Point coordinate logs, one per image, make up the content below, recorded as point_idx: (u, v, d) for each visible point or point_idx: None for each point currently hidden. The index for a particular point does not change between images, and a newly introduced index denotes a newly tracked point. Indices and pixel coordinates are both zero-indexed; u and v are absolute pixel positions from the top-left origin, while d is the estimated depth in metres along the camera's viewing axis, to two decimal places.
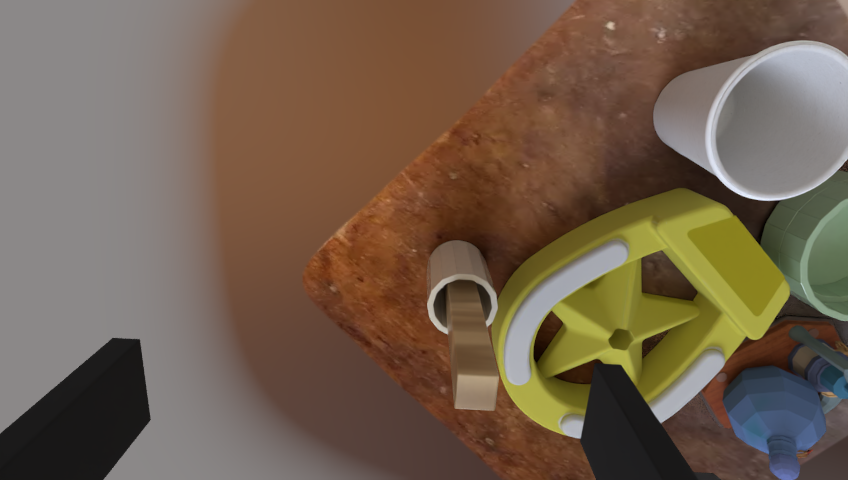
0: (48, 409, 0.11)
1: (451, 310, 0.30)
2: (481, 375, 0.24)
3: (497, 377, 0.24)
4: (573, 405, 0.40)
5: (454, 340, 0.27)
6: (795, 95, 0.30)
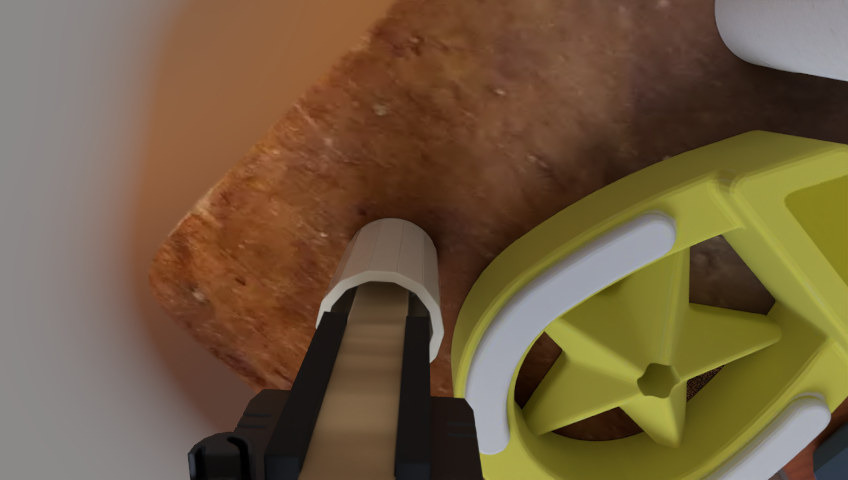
0: (317, 364, 0.13)
1: None
2: None
3: None
4: None
5: (317, 418, 0.12)
6: None
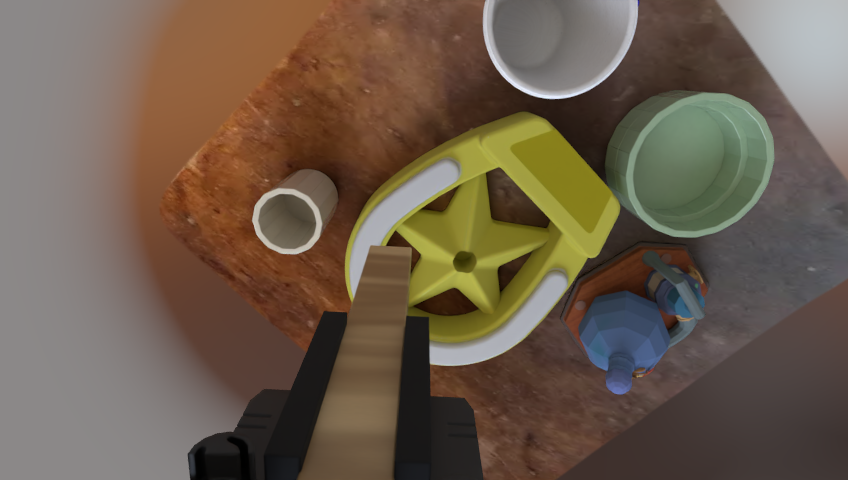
0: (317, 364, 0.13)
1: None
2: None
3: None
4: None
5: None
6: (593, 0, 0.30)
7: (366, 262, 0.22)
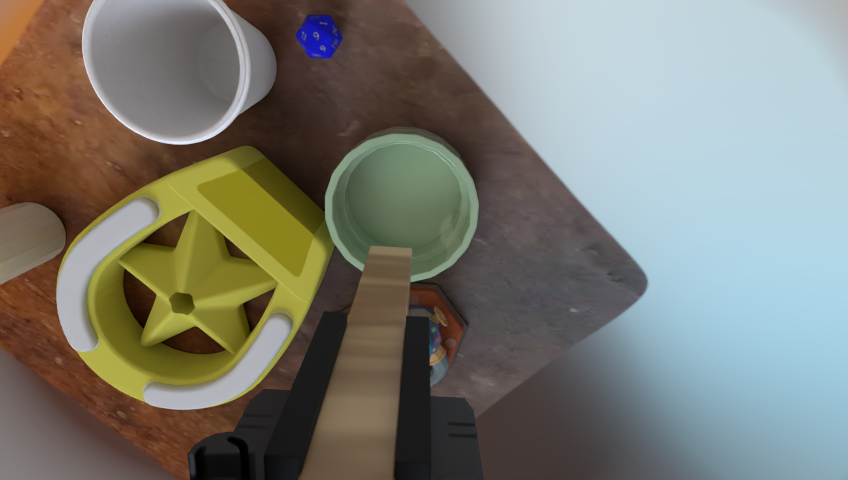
0: (317, 364, 0.13)
1: None
2: None
3: None
4: (157, 374, 0.39)
5: (317, 420, 0.12)
6: None
7: (366, 263, 0.22)
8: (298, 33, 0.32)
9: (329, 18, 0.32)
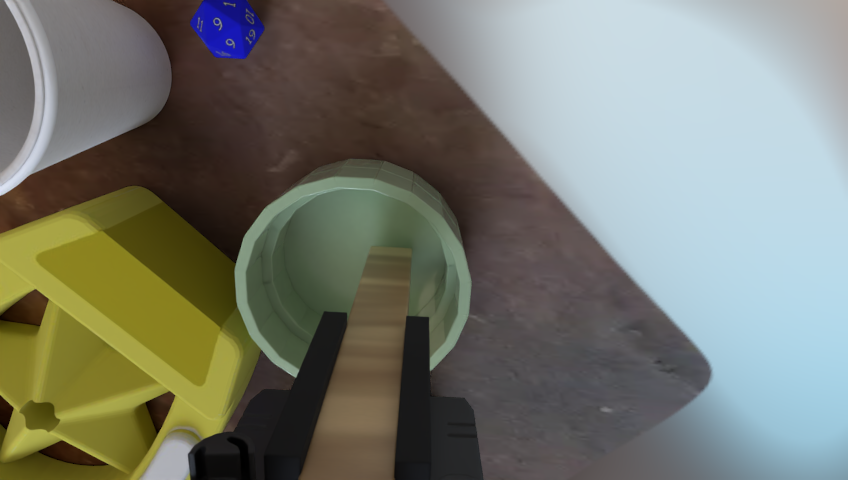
0: (317, 364, 0.13)
1: (340, 345, 0.15)
2: None
3: None
4: None
5: (317, 421, 0.12)
6: None
7: (367, 263, 0.22)
8: (193, 20, 0.21)
9: None
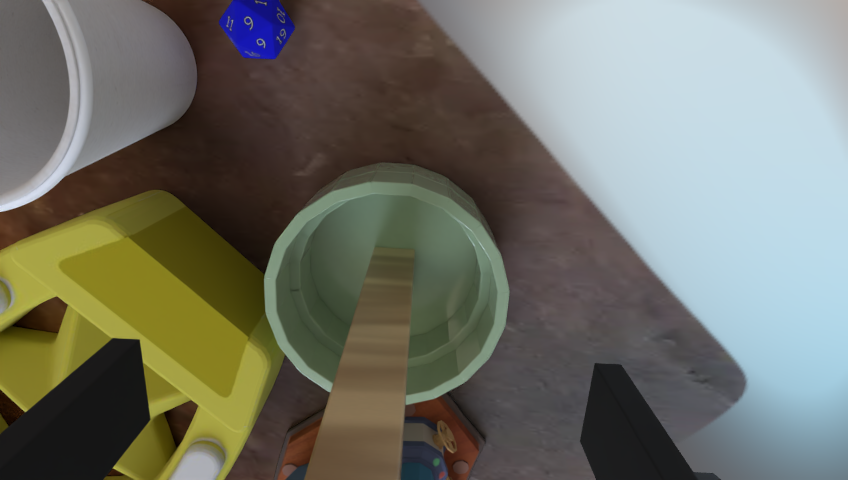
0: (48, 409, 0.11)
1: None
2: None
3: None
4: None
5: (325, 414, 0.12)
6: None
7: (370, 263, 0.22)
8: (222, 19, 0.20)
9: None
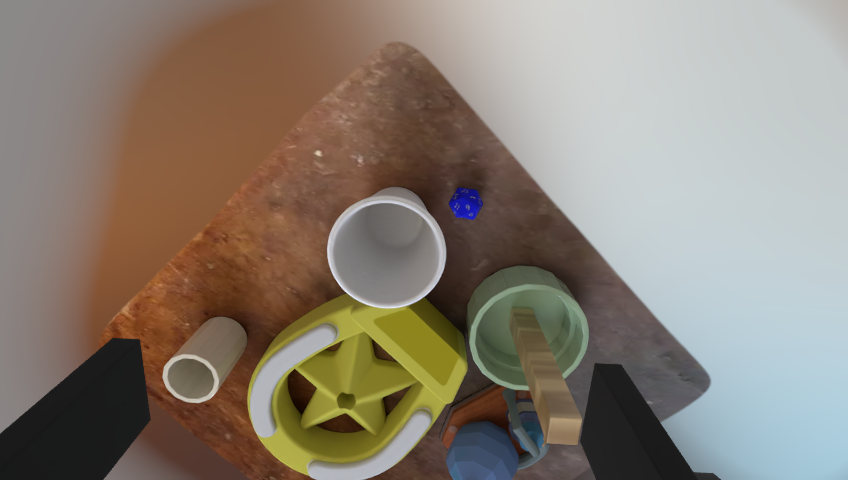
0: (48, 409, 0.11)
1: (530, 360, 0.38)
2: (568, 418, 0.31)
3: (580, 419, 0.31)
4: (319, 453, 0.48)
5: (540, 387, 0.34)
6: None
7: (516, 318, 0.44)
8: (452, 203, 0.42)
9: (476, 192, 0.42)
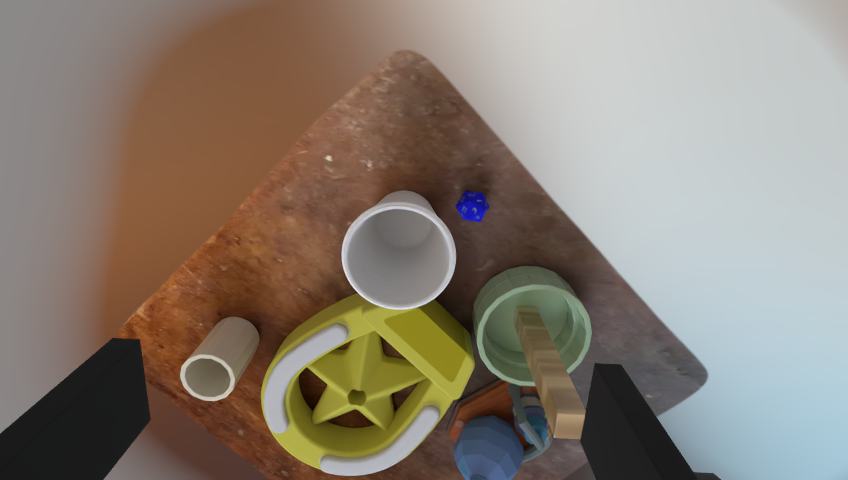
0: (48, 409, 0.11)
1: (536, 357, 0.39)
2: (574, 414, 0.33)
3: None
4: (330, 448, 0.50)
5: (546, 384, 0.36)
6: None
7: (521, 317, 0.46)
8: (459, 206, 0.44)
9: (483, 195, 0.44)
